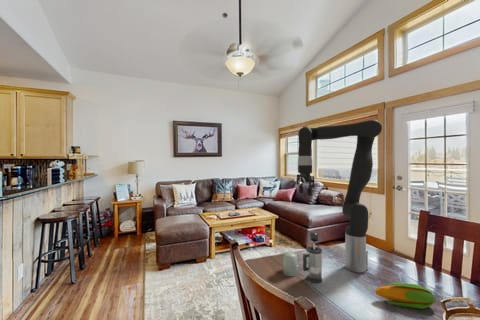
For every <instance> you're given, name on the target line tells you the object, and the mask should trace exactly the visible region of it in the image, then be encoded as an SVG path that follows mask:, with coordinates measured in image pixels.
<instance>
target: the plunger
mask: <svg viewBox="0 0 480 320" xmlns="http://www.w3.org/2000/svg"><path fill="white" fill-rule="evenodd" d="M309 240H310V241H311V242H312V246H313V250H315V246H316V242H319V232H316V231H312V232H309Z"/></svg>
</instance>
